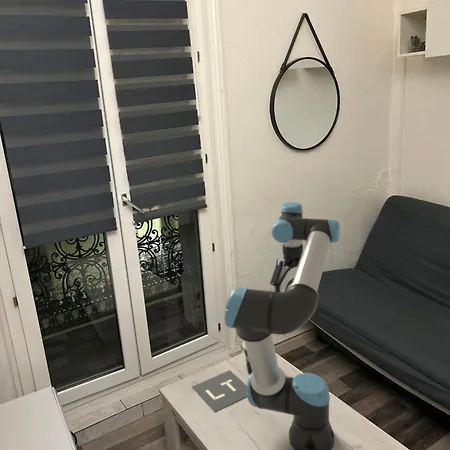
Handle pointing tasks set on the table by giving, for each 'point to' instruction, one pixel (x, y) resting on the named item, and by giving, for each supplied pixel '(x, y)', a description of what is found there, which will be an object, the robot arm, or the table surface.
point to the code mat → (221, 390)
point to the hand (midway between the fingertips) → (293, 295)
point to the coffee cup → (247, 360)
